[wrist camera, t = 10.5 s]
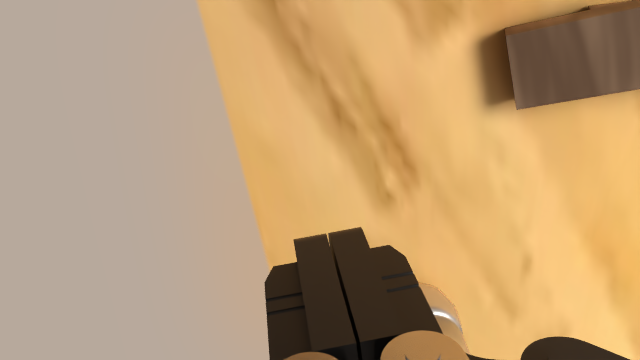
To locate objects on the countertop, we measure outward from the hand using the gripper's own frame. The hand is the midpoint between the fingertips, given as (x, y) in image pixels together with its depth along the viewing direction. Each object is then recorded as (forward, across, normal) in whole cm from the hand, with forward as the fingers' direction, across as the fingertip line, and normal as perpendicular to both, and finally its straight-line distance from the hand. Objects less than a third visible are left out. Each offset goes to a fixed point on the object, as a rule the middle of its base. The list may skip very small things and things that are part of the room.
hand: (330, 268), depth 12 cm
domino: (+24, -15, +4) cm, 29 cm away
